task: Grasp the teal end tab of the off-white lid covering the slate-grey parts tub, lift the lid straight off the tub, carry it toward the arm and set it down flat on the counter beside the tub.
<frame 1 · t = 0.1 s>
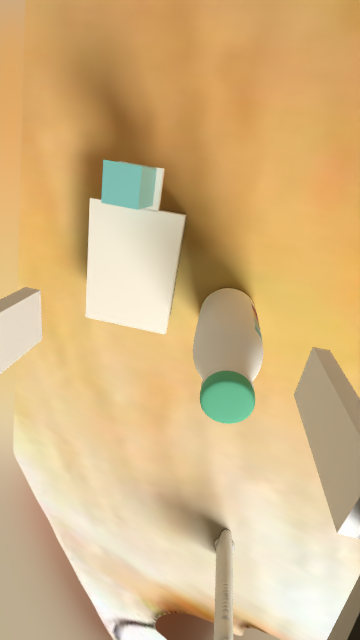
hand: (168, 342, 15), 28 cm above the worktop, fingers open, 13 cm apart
lid: (132, 269, 38), point 5 cm above the worktop, touching tub
tall pale column: (224, 542, 64), on the worktop
milk bottle: (227, 312, 44), on the worktop
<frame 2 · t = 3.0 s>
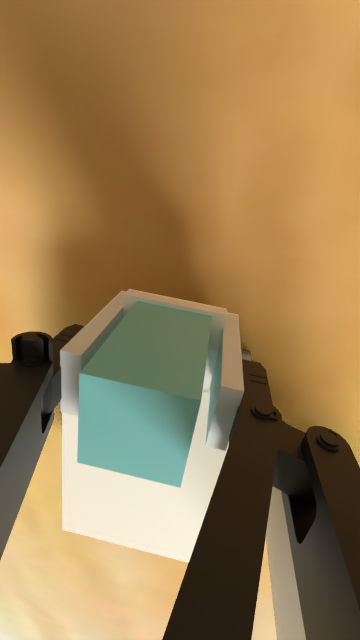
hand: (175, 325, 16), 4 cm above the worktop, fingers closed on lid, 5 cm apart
lid: (149, 467, 19), point 5 cm above the worktop, touching gripper, tub
milk bottle: (308, 493, 25), on the worktop
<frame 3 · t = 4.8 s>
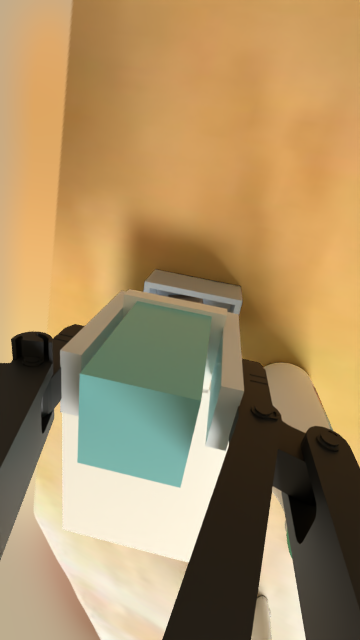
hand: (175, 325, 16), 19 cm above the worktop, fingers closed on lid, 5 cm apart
lid: (149, 467, 19), point 20 cm above the worktop, touching gripper
tall pale column: (259, 608, 60), on the worktop
milk bottle: (279, 385, 39), on the worktop
tub: (187, 331, 38), on the worktop
walnut part: (186, 310, 36), point 1 cm above the worktop, touching tub
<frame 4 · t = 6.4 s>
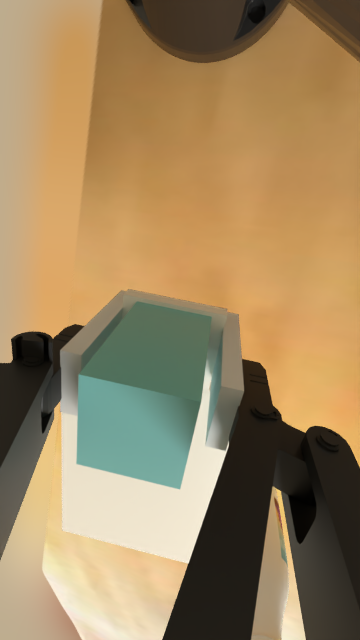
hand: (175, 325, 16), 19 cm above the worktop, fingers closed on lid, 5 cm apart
lid: (149, 467, 19), point 20 cm above the worktop, touching gripper
milk bottle: (250, 487, 47), on the worktop
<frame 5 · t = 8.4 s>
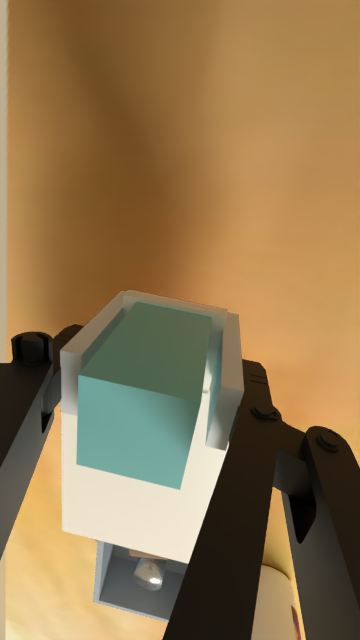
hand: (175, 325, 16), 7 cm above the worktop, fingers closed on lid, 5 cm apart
lid: (149, 468, 19), point 8 cm above the worktop, touching gripper
milk bottle: (257, 579, 36), on the worktop
metal part: (155, 551, 35), point 1 cm above the worktop, touching tub
tub: (155, 528, 35), on the worktop
when the fingers open (1 cm above the worktop, at t = 9.9 s): lid drops 2 cm, on the worktop.
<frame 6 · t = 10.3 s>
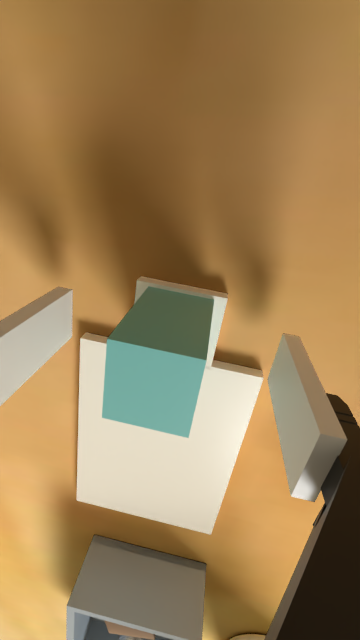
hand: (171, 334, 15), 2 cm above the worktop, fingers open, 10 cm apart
lid: (156, 440, 21), on the worktop
metal part: (140, 617, 30), point 1 cm above the worktop, touching tub
tub: (141, 591, 29), on the worktop
walnut part: (137, 580, 28), point 1 cm above the worktop, touching tub
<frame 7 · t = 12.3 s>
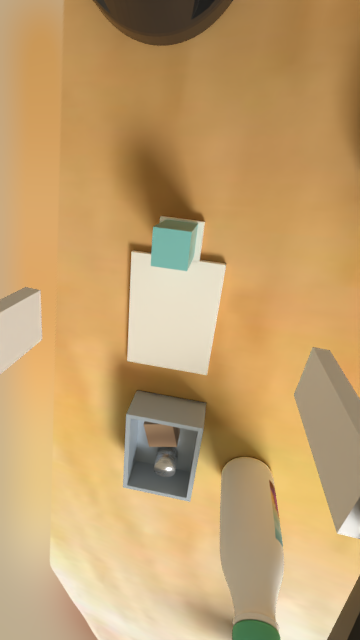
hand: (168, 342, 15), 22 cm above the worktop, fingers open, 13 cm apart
lid: (173, 315, 38), on the worktop
milk bottle: (246, 472, 47), on the worktop
metal part: (167, 452, 47), point 1 cm above the worktop, tilted 5°, touching tub
tub: (166, 433, 46), on the worktop
walnut part: (164, 420, 44), point 1 cm above the worktop, touching tub
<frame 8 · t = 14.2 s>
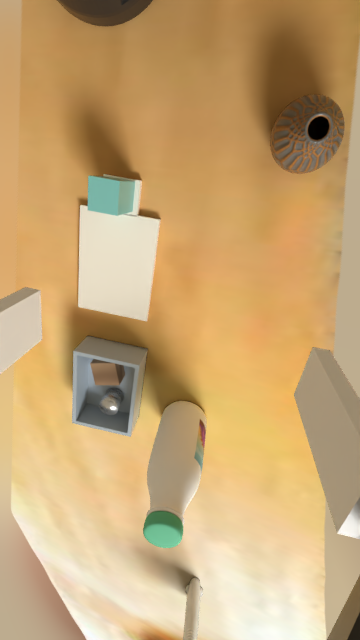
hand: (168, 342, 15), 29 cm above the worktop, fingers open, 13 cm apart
lid: (117, 265, 44), on the worktop
tall pale column: (194, 587, 74), on the worktop
milk bottle: (184, 416, 53), on the worktop
metal part: (114, 395, 52), point 1 cm above the worktop, tilted 6°, touching tub
tub: (114, 377, 52), on the worktop
vase: (298, 141, 35), on the worktop
walnut part: (111, 364, 50), point 1 cm above the worktop, touching tub
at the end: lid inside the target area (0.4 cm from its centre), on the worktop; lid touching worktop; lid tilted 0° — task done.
